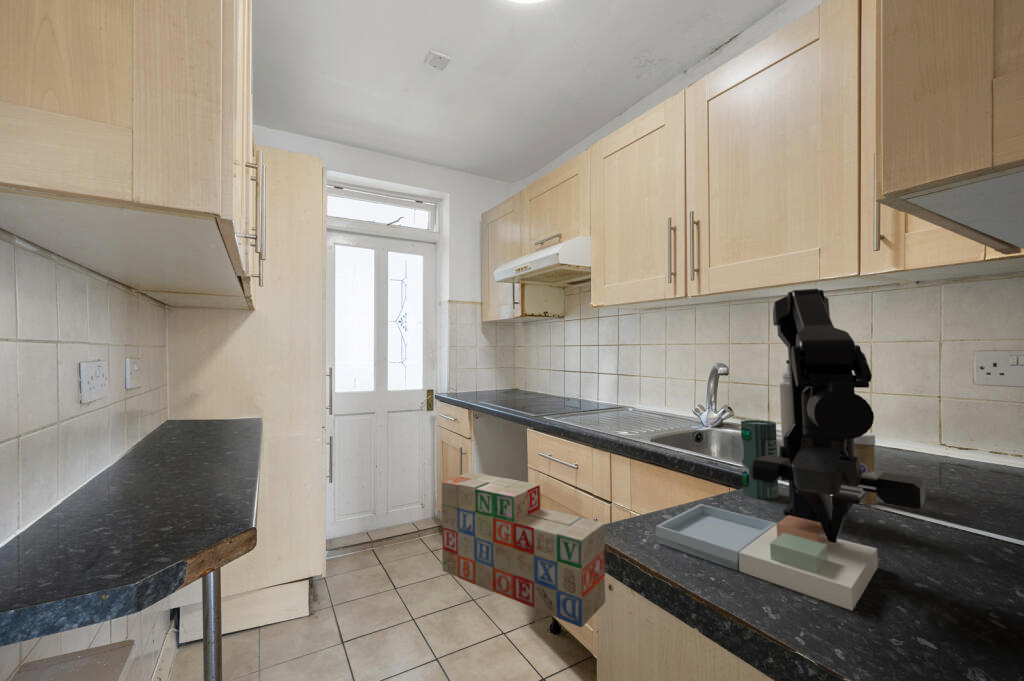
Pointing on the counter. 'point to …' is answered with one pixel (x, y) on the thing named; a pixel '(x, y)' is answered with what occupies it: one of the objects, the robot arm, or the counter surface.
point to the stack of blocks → (522, 546)
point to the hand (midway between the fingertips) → (832, 541)
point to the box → (712, 533)
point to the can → (758, 456)
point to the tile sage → (799, 552)
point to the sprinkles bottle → (866, 461)
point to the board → (833, 581)
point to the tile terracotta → (801, 528)
